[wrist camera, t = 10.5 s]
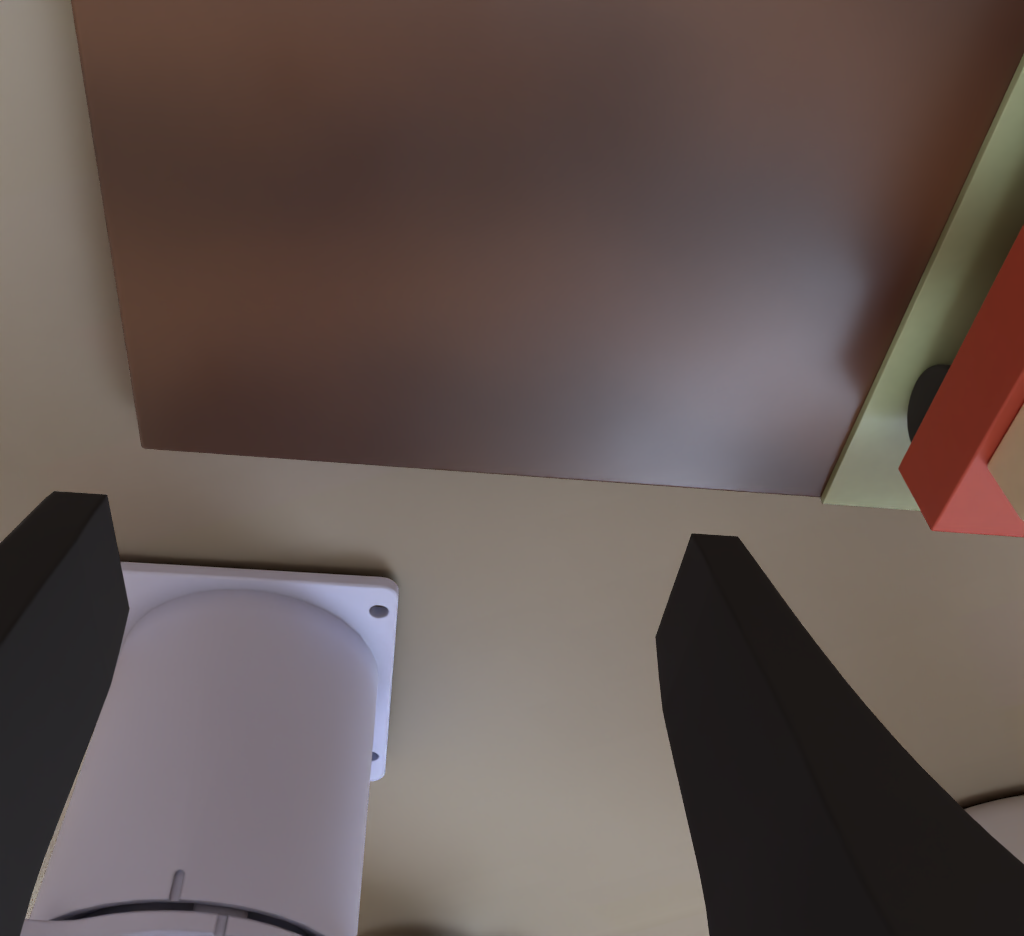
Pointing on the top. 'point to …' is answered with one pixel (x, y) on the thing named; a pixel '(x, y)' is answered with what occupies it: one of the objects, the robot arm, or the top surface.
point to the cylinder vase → (1003, 822)
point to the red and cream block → (974, 420)
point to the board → (555, 228)
